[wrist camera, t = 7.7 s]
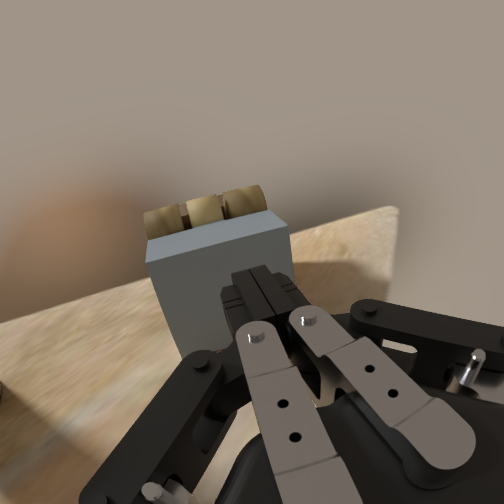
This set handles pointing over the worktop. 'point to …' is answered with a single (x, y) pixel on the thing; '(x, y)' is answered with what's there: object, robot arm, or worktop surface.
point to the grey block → (211, 269)
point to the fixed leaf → (179, 220)
